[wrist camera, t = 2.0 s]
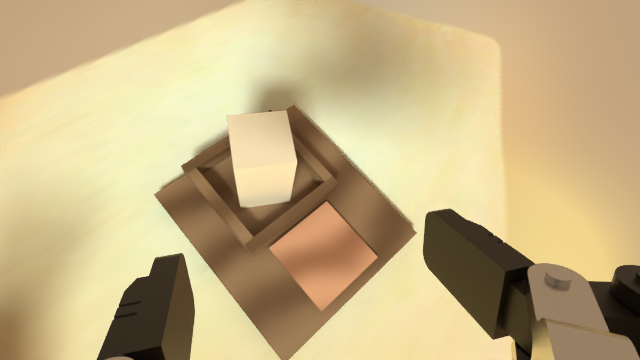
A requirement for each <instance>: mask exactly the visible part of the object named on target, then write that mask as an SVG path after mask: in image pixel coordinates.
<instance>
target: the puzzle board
mask: <svg viewBox="0 0 640 360" xmlns="http://www.w3.org/2000/svg"><path fill="white" fill-rule="evenodd" d="M268 112H272V111H271V110H270V111H268ZM287 115H288V119H289V124H290V129H291V134H292V139H293V144H294V149H295V154H296V158H297V166H296V171H295V177H294V182H293V187H292V193H291V198H290V201H289V202H282V203H275V204H269V205H262V206H255V207H248V208H242V209H241V208H240V203H239V197H238V192H237V186H236V181H235V175H234V170H233V162H232V154H231V147H230V139H229V136H228V137H226V138H225V139H223V140H222V141H220V142H218V143H217V144H215V145H214V146H212V147H210V148H209V149H207V150H206V151H204V152H203V153H201V154H199V155H198V156H196V157H195V158H193V159H191V160H190V161H188V162H187V163H185V164H183V165H182V166H181V167H182V169H183V171H184V173H185V175H184V176H182V177H181V178H179V179H178V180H176V181H174V182H173V183H171V184H170V185H168V186H167V187H165V188H163V189H162V190H160V191H159V192H157V193H156V194H154V195H155V197H156V198H157V199H158V201H159V202H160V203H161V204H162V206H163V207H164V208H165V210H166V211H167V212H168V214H169V215H170V216H171V217H172V219H173V220H174V221H175V223H176V224H177V225H178V226H179V228H180V229H181V230H182V232H183V233H184V234H185V236H186V237H187V238H188V239H189V241H190V242H191V243H192V245H193V246H194V247H195V249H196V250H197V251H198V252H199V254H200V255H201V256H202V258H203V259H204V260H205V261H206V263H207V264H208V265H209V267H210V268H211V269H212V271H213V272H214V273H215V274H216V276H217V277H218V278H219V280H220V281H221V282H222V284H223V285H224V286H225V287H226V289H227V290H228V291H229V293H230V294H231V295H232V296H233V298H234V299H235V300H236V302H237V303H238V304H239V306H240V307H241V308H242V309H243V311H244V312H245V313H246V315H247V316H248V317H249V319H250V320H251V321H252V322H253V324H254V325H255V326H256V328H257V329H258V330H259V331H260V333H261V334H262V335H263V337H264V338H265V339H266V341H267V342H268V343H269V344H270V346H271V347H272V348H273V350H274V351H275V352H276V354H277V355H278V356H279V357H280V359H281V360H289V359H290V358H291V357H292V356H293V355H294V354H295V353H296V352H297V351H298V350H299V349H300V348H301V347H302V346H303V345H304V344H305V343H306V342H307V341H308V340H309V339H310V338H311V337H312V336H313V335H314V334H315V333H316V332H317V331H318V330H319V329H320V328H321V327H322V326H323V325H324V324H325V323H326V322H327V321H328V320H329V319H330V318H331V317H332V316H333V315H334V314H335V313H336V312H337V311H338V310H339V309H340V308H341V307H342V306H343V305H344V304H345V303H346V302H347V301H348V300H349V299H351V298H352V297H353V296H354V295H355V294H356V293H357V292H358V291H359V290H360V289H361V288H362V287H363V286H364V285H365V284H366V283H367V282H368V281H369V280H370V279H371V278H372V277H373V276H374V275H375V274H376V273H377V272H378V271H379V270H380V269H381V268H382V267H383V266H384V265H385V264H386V263H387V262H388V261H389V260H390V259H391V258H392V257H393V256H394V255H395V254H396V253H397V252H398V251H399V250H400V249H401V248H402V247H403V246H404V245H405V244H406V243H407V242H408V241H409V240H410V239H411V238H412V237H413V236H414V235H415V234H416V232H415V231H414V230H413V229H412V227H411V226H410V225H409V224H408V223H407V222H406V221H405V220H404V219H403V218H402V217H401V216H400V215H399V214H398V213H397V212H396V211H395V210H394V209H393V208H392V207H391V206H390V205H389V204H388V203H387V202H386V200H385V199H384V198H383V197H382V196H381V195H380V194H379V193H378V192H377V191H376V190H375V189H374V188H373V187H372V186H371V185H370V184H369V183H368V182H367V181H366V180H365V179H364V178H363V177H362V176H361V175H360V173H359V172H358V171H357V170H356V169H355V168H354V167H353V166H352V165H351V164H350V163H349V162H348V161H347V160H346V159H345V158H344V157H343V156H342V155H341V154H340V153H339V152H338V151H337V150H336V149H335V148H334V146H333V145H332V144H331V143H330V142H329V141H328V140H327V139H326V138H325V137H324V136H323V135H322V134H321V133H320V132H319V131H318V130H317V129H316V128H315V127H314V126H313V125H312V124H311V123H310V122H309V120H308V119H307V118H306V117H305V116H304V115H303V114H302V113H301V112H300V111H299V110H298V109H297V108H296V107H295V106H294V105H293V106H292V107H290V108H289V109H287Z"/></svg>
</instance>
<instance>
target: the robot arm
mask: <svg viewBox="0 0 640 360" xmlns="http://www.w3.org/2000/svg"><path fill="white" fill-rule="evenodd" d="M423 256H424V260H425V263H426V265H427V267H428V268H429V270H430V271H431V272H432V273H433V274H434V275H435V276H436V277H437V278H438V279H439V281H440V282H441V283H442V284H443V285H444V286H445V287H446V288H447V289H448V291H449V292H450V293H451V294H452V295H453V296H454V297H455V298H456V299H457V300H458V302H459V303H460V304H461V305H462V306H463V307H464V308H465V309H466V310H467V312H468V313H469V314H470V315H471V316H472V317H473V318H474V319H475V320H476V321H477V323H478V324H479V325H480V326H481V327H482V328H483V329H484V330H485V331H486V333H487V334H488V335H489V336H490V337H491V338H492V339H493V340H494V339H497V338H501V337H505V336H509V335H510V336H511V337H512V338H513V343H512V349H511V350H512V360H640V266H636V265H623V266H620V267H618V268H617V269H616V270H615V273H614V276H613V279H612V282H594V281H587V280H586V279H585V278H584V277H582V276H581V275H580V274H578V273H577V272H575V271H573V270H570V269H568V268H565V267H563V266H559V265H555V264H547V263H541V264H535V263H533V262H532V261H531V260H529V259H528V258H526V257H525V256H524V255H522V254H521V253H519V252H518V251H517V250H515V249H514V248H512V247H511V246H510V245H508V244H507V243H503V241H502V240H501V239H500V238H498V237H497V236H494V235H493V233H491V232H490V231H488V230H487V229H486V228H484V227H483V226H481V225H478V224H476V223H473V222H471V221H469V220H466V219H464V218H463V217H462V216H460V215H459V214H458V213H456V212H455V211H453V210H452V209H443V210H437V211H432V212H428V213H427V215H426V218H425V230H424V244H423ZM194 316H195V307H194V298H193V292H192V288H191V284H190V279H189V275H188V270H187V266H186V262H185V258H184V255H183V254H182V253H180V254H174V255H168V256H162V257H156V258H155V259H154V262H153V265H152V268H151V271H150V274H149V276H147V277H141V278H137V279H136V280H135V281H134V282H133V283H132V284H131V285H130V286H129V287H128V288H127V289H126V290H125V291H124V294H123V296H122V299H121V301H120V303H119V308H117V311H116V313H115V316H114V320H113V321H112V323H111V326H110V328H109V331H108V333H107V336H106V338H105V341H104V343H103V345H102V348H101V350H100V353H99V355H98V358H97V360H190V353H191V344H192V335H193V326H194Z"/></svg>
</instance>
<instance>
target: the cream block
mask: <svg viewBox="0 0 640 360" xmlns="http://www.w3.org/2000/svg"><path fill="white" fill-rule="evenodd" d="M227 123H228V131H229V139H230V147H231V154H232V162H233V170H234V175H235V181H236V186H237V192H238V197H239V203H240V208H241V209H242V208H248V207H255V206H262V205H269V204H275V203H282V202H289V201H290V198H291V193H292V187H293V182H294V177H295V171H296V166H297V158H296V154H295V149H294V144H293V139H292V134H291V129H290V124H289V119H288V115H287V110H283V111H272V112H261V113H250V114H240V115H229V116H227Z"/></svg>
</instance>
